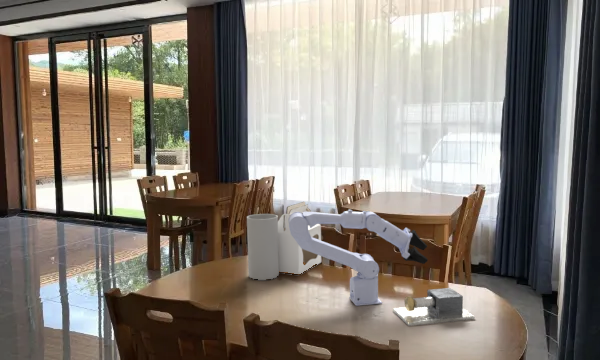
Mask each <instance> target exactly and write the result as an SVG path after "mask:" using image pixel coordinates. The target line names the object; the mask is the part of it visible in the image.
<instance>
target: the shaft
mask: <svg viewBox="0 0 600 360" xmlns="http://www.w3.org/2000/svg"><path fill="white" fill-rule="evenodd" d="M433 306H436V297H427V296H426V297H416V298H414V297H413V296H411V295H410V296H409V295H408V296H406V297H405V299H404V307H406V309H407V311H414V309H415V308H422V307H433Z"/></svg>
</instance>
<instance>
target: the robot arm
mask: <svg viewBox="0 0 600 360" xmlns="http://www.w3.org/2000/svg"><path fill="white" fill-rule="evenodd" d="M288 222H289V229H290V232H291V235H292V236H293V237H294V239H295V240H296V242H297V243H298V244H299V246H300V247H301V248H302V249H304V250H307V251H309V252H312V253H315V254H317V255H320V256H321V258H322V257H323V258H326V259H328V260H330V261H334V262H336V263H338V264H341V265H343V266H347V267H350V269H352V270H353V271H356V272H357V273H356V275H355V276H351V277H350V279H349V298H348V299H350V300H351V302H353V304H354V305H355V306H356V307H358V306H368V305H369V306H370V305H379V304H383V302H382V300H381V299H380V298H379V272H380V267H379V266H380V265H379V264H378V263H377V262H376V261H375V260H374V257H373V256H371V254H368V253H358V252H352V251H349V250H347V249H344V248H342V247H339V246H337V245H334V244H331V243H328V242H326V241H322V239H321V240H318V239H316V238H313V237H311V235H310V233H309V230H308V225H309V226H310V228H312V227H313V226H315V225H316V224H320V225H321V224H322V225H323V224H325V225H326V224H327V225H329V224H330V225H331V224H333V225H341V227H342V228H344V229H357V230H358V229H359V230H361V229H362V230H363V229H367V231H369V232H374V233H375V234H377V235H378V237H380V238H382V239H383V240H385V241H386V242H389V243H391V244H392V245H394V246H395V247H396V248H398V249H399V252H400V254H401V257H402V258H403V260H405V262H407V261H410V262H411V261H412V262H416V263H420V264H424V265H425V264H426V263H427V262H428V258H427V257H426V256H424V255H423V254H422V253H421V252H420V250H421V251H425V250H426V249H427V248H428V245H427V244H426V243H425V242H424V241H423V239H421V237H420V236H419V235H418V233H417V231H416V230H415V229H412V230H411V229H410V228H408V227H405V228H404V229H400V228H399V227H397V226H396V225H394V224H392V223H391V222H389V221H388V220H385V219H384V218H381V216H379V215H377V213H375V212H373V211H370V210H368V211H366V210H362V211H353V210H352V209H348V210H346V211H345V210H344V211H343V212H342V213H340V214H337V213H327V212H318V211H317V212H316V211H311V212H303V213H301V212H294V213H292V214H291V215H290V216H289V219H288ZM410 245H411V246H413V247H412V248H410ZM418 249H420V250H419V251H418Z"/></svg>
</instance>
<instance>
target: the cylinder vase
mask: <svg viewBox="0 0 600 360" xmlns="http://www.w3.org/2000/svg"><path fill="white" fill-rule="evenodd" d="M278 217H279V216H278V215H276V214H273V213H259V214H249V215H247V216H246V228H247V229H246V232H247V235H246V237H247V238H246V239H247V262H248V263H247V265H248V267H247V268H248V270H247V272H248V278H249V279H251V278H253V279H252V280H254V279H258V280H257V281H267V280H266V279H271V280H274V279H277V278H278V277H279V274H280V273H279V254H278V221H279V218H278ZM277 276H278V277H277ZM273 278H274V279H273Z"/></svg>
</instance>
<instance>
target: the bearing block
mask: <svg viewBox="0 0 600 360" xmlns="http://www.w3.org/2000/svg"><path fill="white" fill-rule="evenodd" d="M426 291H427V292H426V293H427V295H426V297H436V306H433V307H422V308H415V309H414V311H407V309H406V307H405V306H404V307H394V308H392V310H393V311H392V312H393V313H394V314H396V315H397V317H399V319H400V320H402V322H404V323H405V324H406V325H407V326H408V327H413V326H422V325H432V324H441V323H442V324H443V323H451V322H452V323H453V322H460V321H461V322H463V321H471V320H476V319H475V317H476V316H475V315H473V314H472V313H471V312H470V311H468V310H466V309H465V308H464V306H463V305H464V304H463V303H464V302H463V300H464V298H463V295H462V294H460V293H458V292H457V291H456V290H454V289H452V288H450V287H446V288H444V287H443V288H434V289H433V288H432V289H427V290H426Z"/></svg>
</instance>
